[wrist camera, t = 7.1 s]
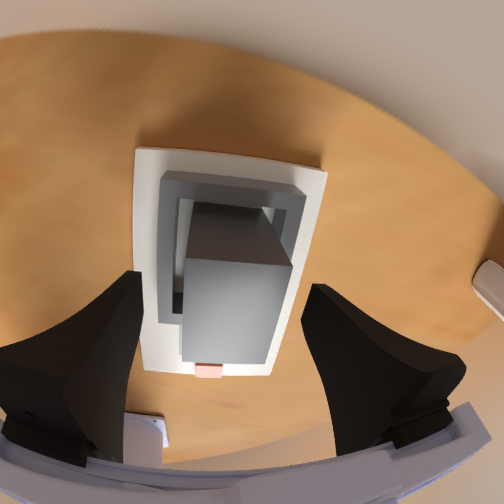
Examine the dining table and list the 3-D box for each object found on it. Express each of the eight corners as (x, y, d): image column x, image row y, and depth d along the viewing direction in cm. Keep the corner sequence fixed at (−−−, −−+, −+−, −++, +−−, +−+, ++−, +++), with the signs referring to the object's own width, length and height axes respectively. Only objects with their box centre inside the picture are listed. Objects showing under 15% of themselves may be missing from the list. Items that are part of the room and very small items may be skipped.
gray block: (187, 283, 16) (181, 361, 11) (193, 201, 14) (185, 257, 9) (247, 288, 17) (264, 364, 12) (262, 208, 15) (293, 266, 10)
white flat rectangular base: (145, 360, 20) (141, 389, 18) (140, 146, 13) (124, 154, 11) (267, 365, 22) (274, 394, 20) (321, 168, 15) (344, 181, 13)
